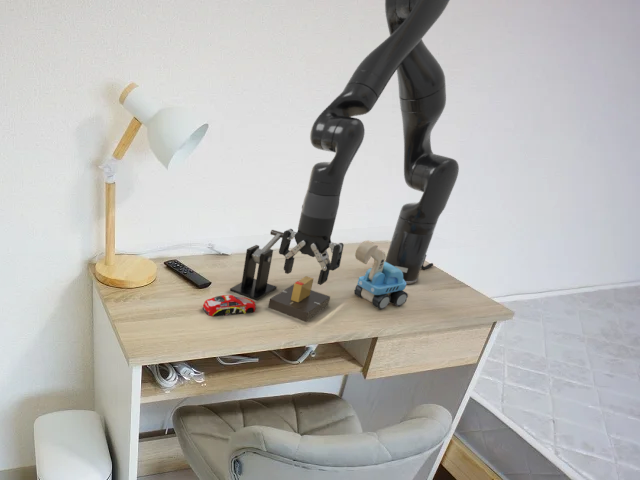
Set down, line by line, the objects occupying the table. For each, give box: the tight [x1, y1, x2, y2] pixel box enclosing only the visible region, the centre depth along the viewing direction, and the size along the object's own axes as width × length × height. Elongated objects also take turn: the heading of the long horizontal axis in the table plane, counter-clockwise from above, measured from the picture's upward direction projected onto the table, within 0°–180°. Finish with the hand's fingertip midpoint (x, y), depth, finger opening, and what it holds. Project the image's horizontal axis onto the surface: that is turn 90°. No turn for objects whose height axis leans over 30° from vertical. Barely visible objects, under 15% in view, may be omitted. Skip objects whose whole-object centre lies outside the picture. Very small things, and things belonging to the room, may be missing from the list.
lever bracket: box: [229, 244, 277, 302], centre depth 132 cm, size 10×8×12 cm
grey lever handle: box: [252, 229, 284, 265], centre depth 132 cm, size 12×5×2 cm, turn 136°
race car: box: [202, 294, 257, 317], centre depth 124 cm, size 13×5×4 cm, turn 102°
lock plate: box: [267, 283, 331, 322], centre depth 127 cm, size 12×10×3 cm
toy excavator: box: [353, 240, 409, 310], centre depth 126 cm, size 9×17×17 cm, turn 111°
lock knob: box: [291, 275, 314, 302], centre depth 125 cm, size 6×2×5 cm, turn 136°
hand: (303, 278), depth 123 cm, fingers open, 8 cm apart
